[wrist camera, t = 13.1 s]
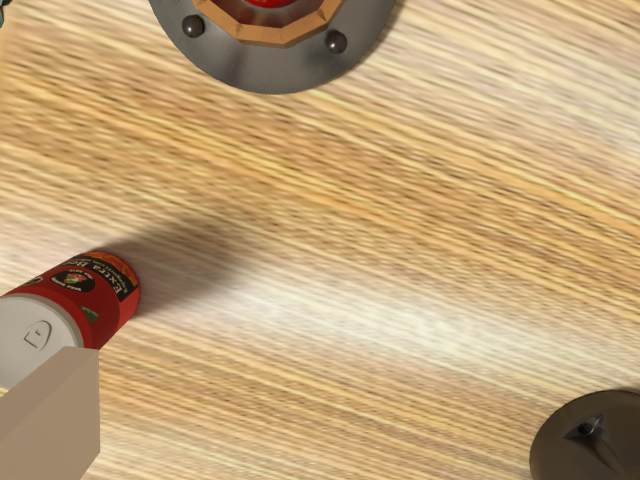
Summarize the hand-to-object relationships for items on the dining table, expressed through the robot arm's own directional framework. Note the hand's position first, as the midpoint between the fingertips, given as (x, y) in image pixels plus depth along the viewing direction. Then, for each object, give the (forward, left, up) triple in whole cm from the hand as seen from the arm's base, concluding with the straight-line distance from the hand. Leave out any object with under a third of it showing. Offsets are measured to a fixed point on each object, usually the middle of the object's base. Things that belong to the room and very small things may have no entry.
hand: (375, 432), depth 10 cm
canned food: (+21, +11, -29) cm, 38 cm away
